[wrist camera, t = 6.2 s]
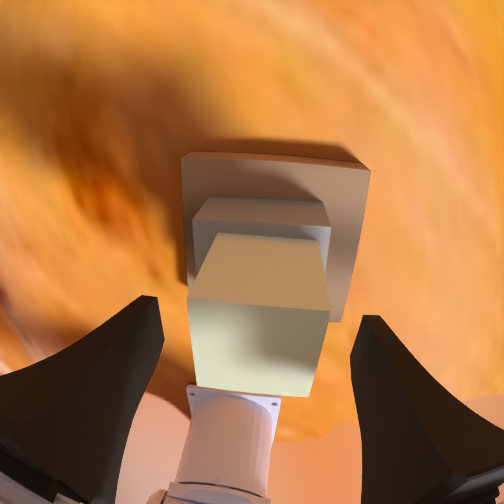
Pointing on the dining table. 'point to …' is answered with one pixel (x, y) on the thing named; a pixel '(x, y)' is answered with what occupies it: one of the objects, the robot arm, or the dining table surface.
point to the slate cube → (259, 222)
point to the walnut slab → (284, 188)
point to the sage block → (259, 315)
